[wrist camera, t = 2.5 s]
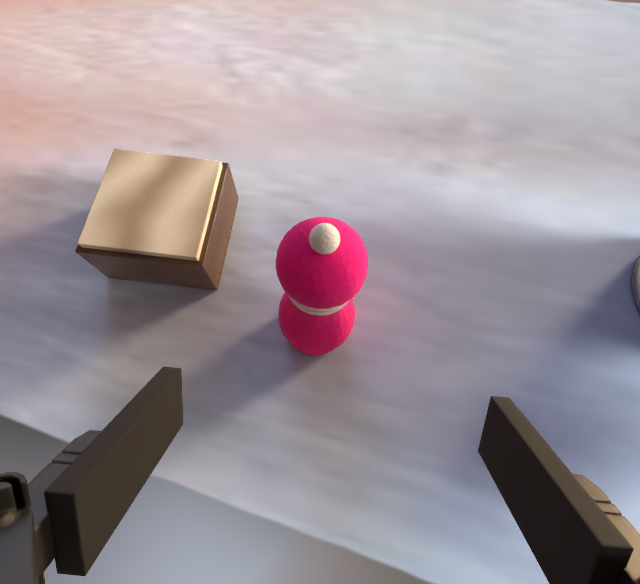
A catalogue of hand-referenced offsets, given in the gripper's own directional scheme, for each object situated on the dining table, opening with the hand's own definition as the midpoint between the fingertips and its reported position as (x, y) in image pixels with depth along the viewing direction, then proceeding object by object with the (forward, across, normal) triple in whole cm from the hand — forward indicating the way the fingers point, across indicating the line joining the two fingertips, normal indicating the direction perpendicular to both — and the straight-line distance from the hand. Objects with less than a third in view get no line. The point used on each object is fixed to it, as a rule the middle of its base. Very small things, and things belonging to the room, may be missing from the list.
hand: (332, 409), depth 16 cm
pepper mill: (+23, -2, -5) cm, 23 cm away
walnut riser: (+28, -18, +2) cm, 33 cm away
